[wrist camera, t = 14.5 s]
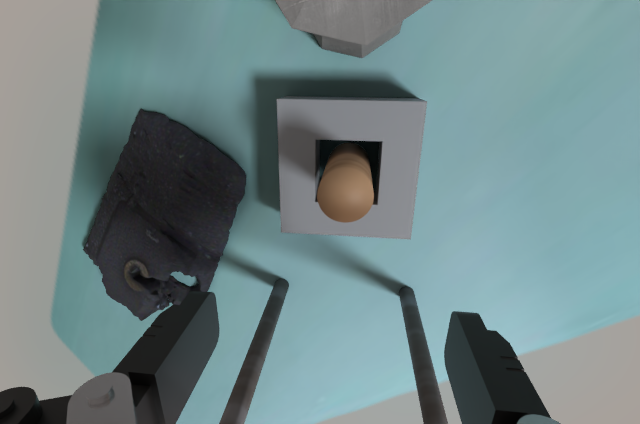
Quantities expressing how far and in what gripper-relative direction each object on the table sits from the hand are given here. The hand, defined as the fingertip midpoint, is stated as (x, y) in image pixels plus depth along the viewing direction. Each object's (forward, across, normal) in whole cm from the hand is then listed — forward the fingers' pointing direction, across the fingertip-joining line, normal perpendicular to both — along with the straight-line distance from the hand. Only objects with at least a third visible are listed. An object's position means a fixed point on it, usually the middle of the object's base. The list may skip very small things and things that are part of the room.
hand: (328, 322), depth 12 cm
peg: (+24, 0, 0) cm, 24 cm away
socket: (+24, 0, 0) cm, 24 cm away
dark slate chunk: (+24, +19, +8) cm, 32 cm away
